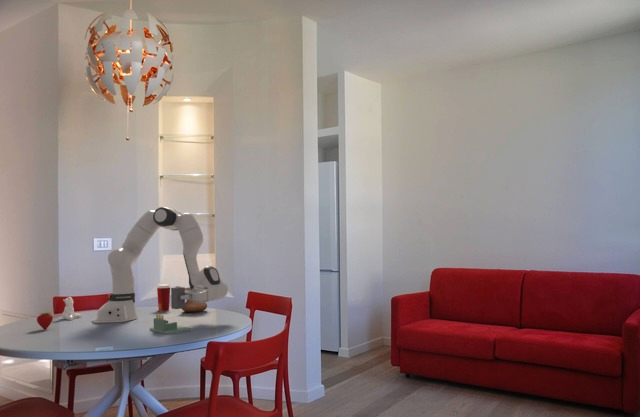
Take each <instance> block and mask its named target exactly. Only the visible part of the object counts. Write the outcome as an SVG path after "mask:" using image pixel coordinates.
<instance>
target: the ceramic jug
mask: <svg viewBox="0 0 640 417" xmlns="http://www.w3.org/2000/svg"><path fill="white" fill-rule="evenodd" d="M185 290H192V289H191V288H190V286H189V287H185ZM207 307H208V304H207V302H202V303H196V302H195V301H193V300H185V308H182V309H181V310H182V311H183V312H186V313H190V314H192V313H193V314H195V313H200V312H203V311H205V310H206V309H207Z"/></svg>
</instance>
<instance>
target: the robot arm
mask: <svg viewBox="0 0 640 417" xmlns="http://www.w3.org/2000/svg"><path fill="white" fill-rule="evenodd" d="M159 228H163V229H166V230H171V231H178V233H179V235H180V239H181V242H182V246H183V247H182V249H183V250H182V254H183V259H184V263H185V267H186V271H187V274H188V285H189V287H190V288H191V289H192V290H185V295H180V296H179V299H185V301H187V300H193V301H195V302H196V303H202V302H205V303H207V302H208V303H209V302H214V301H218V300H222V299H224V298H226V297H227V295H228V292H229V291H228V290H229V288H228V285H227V284H226V283H225V282H224V281H223V279H221V277H220V273H219V271H218V269H216V267H214V266H213V265H206V266H205V267H204V268H202V269H201V270H200V268H199V264H198V260H197V258H198V257H197V256H198V253H199V250H200V249H201V247H202V246H203V245H202V244H203V243H204V236H203V232H202V229H201V227H200V225H199V222H198V221H197V219H196V217H195V216H194V215H193V214H192V213H189V212H185V213H181V212H179V211H177V210H176V209H174V208H170V207H167V206H160V207H158V208H156V209H155V210H152V209H150V210H147V211H146V212H145V213H144V214H143V215H142V216H141V217H140V218H139V219H138V220H137V222H136V223H135V224H134V225H133V226H132V228H131V230H130V231H129V232H128V233H127V235H126V238H125V240H124V242H123V243H122V245H121V246H120V247H116V248H114V249H112V250H111V251H110V253H109V254H108V256H107V261H108V264H109V268H110V272H111V278H112V279H111V280H112V293H108V294H107V297H108V301H107V302H106V303H104V304H103V305H102V306H101V307H99V309H98V310H97V314H96V317H94V318H93V319H92V323H94V324H98V323H99V324H101V323H103V324H104V323H105V324H107V323H124V322H125V323H126V322H128V321H133V320H137V319H138V316H137V311H136V306H135V305H136V304H135V303H136V293H135V277H134V274H133V270H132V266H133V265H135V263H137V261H138V259H139V257H140V256H141V254H142V252H143V250H144V248H145V246H147V244H148V243H149V241H150V239H152V237H153V235H154V234H155V233H156V232H157V230H158V229H159Z"/></svg>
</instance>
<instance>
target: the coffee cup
mask: <svg viewBox="0 0 640 417" xmlns="http://www.w3.org/2000/svg"><path fill="white" fill-rule="evenodd" d="M156 291H157V293H156V295H157V306H158V307H157V309H158V311H159V312H167V311H169V310H170V302H171V300H170V299H171V298H170V297H171V284H165V283H164V284H157V286H156Z"/></svg>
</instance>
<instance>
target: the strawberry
mask: <svg viewBox="0 0 640 417" xmlns="http://www.w3.org/2000/svg"><path fill="white" fill-rule="evenodd" d="M53 316H54V315H52V314H51V313H50V312H47V310H45V312H41V313H40V314H39V315H38V316H37V317H36V322H37V323H38V325H39V326H40V327H41V328H42V329H43V330H44V329H46V330H47V329H48V328H49V326H50V325H51V324H52V322H53V320H54V319H53V318H54V317H53Z"/></svg>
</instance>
